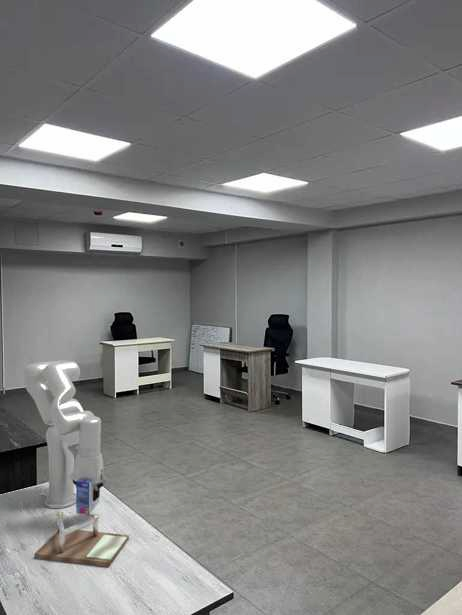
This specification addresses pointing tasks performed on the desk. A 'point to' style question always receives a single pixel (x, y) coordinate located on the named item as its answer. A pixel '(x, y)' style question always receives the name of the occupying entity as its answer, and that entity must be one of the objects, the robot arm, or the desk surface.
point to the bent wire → (64, 532)
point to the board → (84, 548)
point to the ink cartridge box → (85, 497)
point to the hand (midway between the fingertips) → (88, 497)
